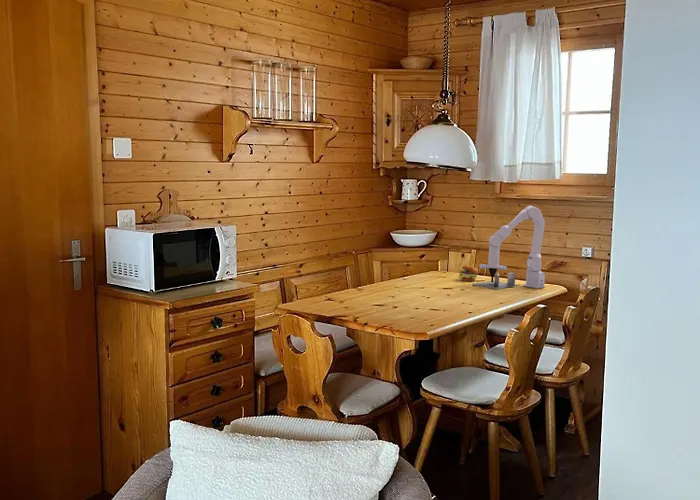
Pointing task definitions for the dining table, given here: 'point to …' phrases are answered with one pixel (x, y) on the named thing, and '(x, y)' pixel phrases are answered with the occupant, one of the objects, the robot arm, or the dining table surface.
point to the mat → (491, 285)
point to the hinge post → (496, 281)
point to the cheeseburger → (468, 276)
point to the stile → (511, 279)
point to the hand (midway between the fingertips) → (492, 282)
